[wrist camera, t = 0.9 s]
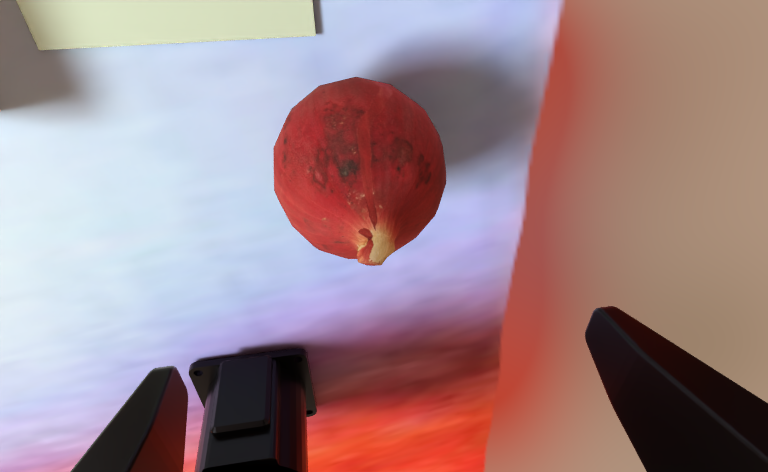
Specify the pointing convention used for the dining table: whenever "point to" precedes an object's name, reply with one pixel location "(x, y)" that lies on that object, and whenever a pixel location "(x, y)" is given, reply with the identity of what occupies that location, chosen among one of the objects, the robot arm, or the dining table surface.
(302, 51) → the dining table surface
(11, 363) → the dining table surface
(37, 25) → the arena
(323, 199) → the onion
